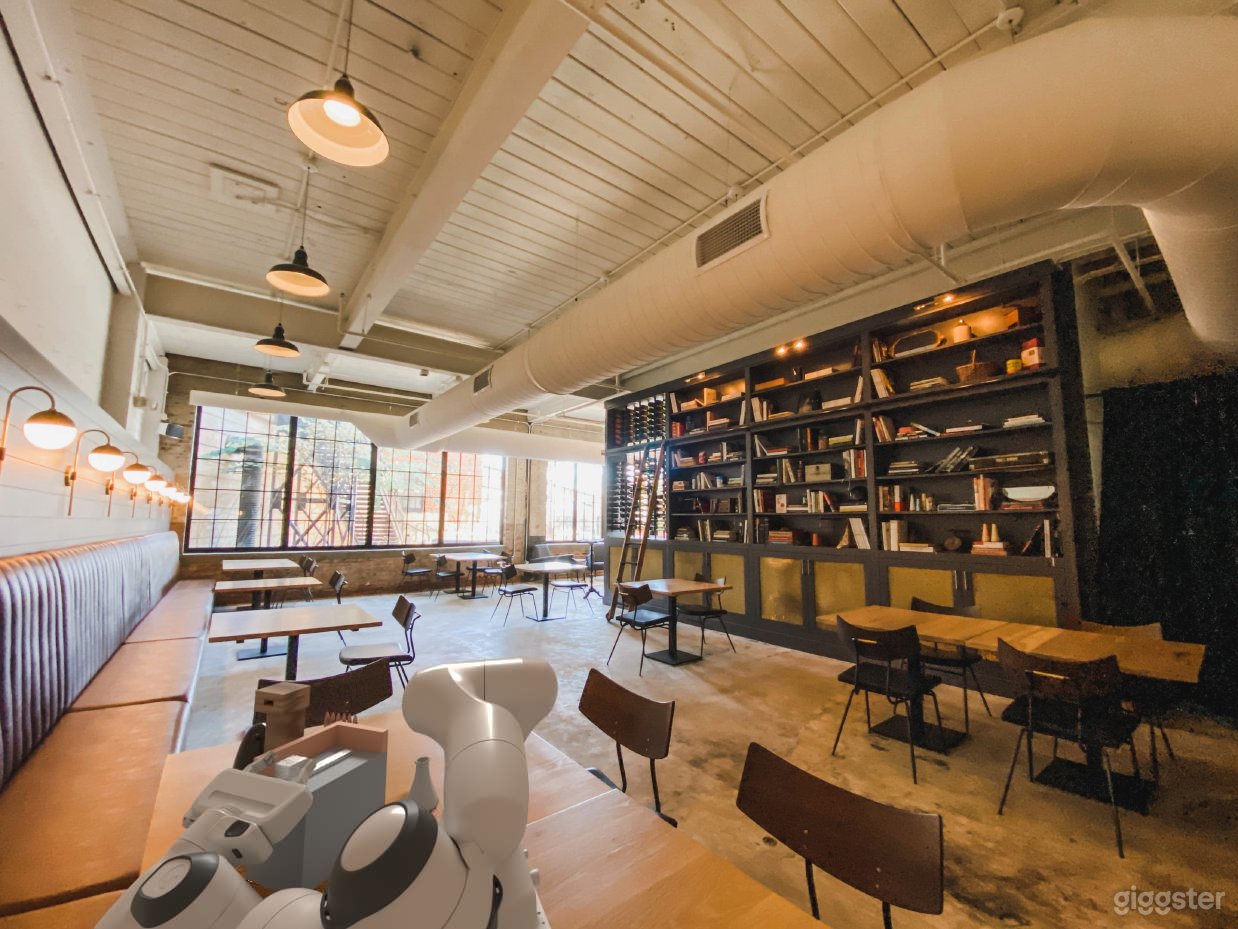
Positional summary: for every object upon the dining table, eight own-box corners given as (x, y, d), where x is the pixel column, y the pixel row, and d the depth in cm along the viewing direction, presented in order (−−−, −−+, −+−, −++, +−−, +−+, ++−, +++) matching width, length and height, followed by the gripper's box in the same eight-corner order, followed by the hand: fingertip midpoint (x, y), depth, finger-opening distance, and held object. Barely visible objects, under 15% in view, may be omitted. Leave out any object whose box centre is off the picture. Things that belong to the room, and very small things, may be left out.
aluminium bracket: (287, 791, 88) (289, 766, 88) (273, 787, 89) (275, 763, 90) (356, 754, 102) (357, 734, 102) (343, 752, 103) (344, 731, 103)
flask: (426, 817, 108) (428, 768, 109) (396, 814, 110) (398, 765, 111) (444, 799, 115) (445, 753, 117) (415, 796, 117) (417, 750, 118)
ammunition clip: (319, 759, 135) (321, 712, 136) (324, 756, 137) (327, 710, 138) (353, 763, 133) (355, 715, 134) (358, 760, 135) (360, 713, 136)
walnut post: (280, 850, 98) (290, 695, 101) (237, 837, 102) (248, 689, 105) (317, 827, 105) (325, 683, 108) (276, 816, 109) (285, 678, 112)
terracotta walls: (307, 794, 87) (308, 769, 87) (252, 781, 91) (254, 758, 92) (387, 750, 104) (388, 729, 104) (337, 740, 108) (338, 721, 109)
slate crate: (301, 899, 85) (307, 794, 87) (245, 880, 89) (252, 781, 91) (383, 836, 102) (387, 750, 104) (333, 823, 106) (337, 740, 108)
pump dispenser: (222, 806, 113) (228, 735, 115) (235, 784, 122) (240, 718, 124) (277, 796, 117) (281, 727, 119) (285, 776, 126) (289, 712, 128)
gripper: (184, 837, 84) (260, 760, 96) (272, 864, 77) (342, 778, 89) (165, 812, 81) (245, 737, 93) (254, 838, 74) (328, 753, 86)
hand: (293, 757), depth 91 cm, fingers open, 8 cm apart
